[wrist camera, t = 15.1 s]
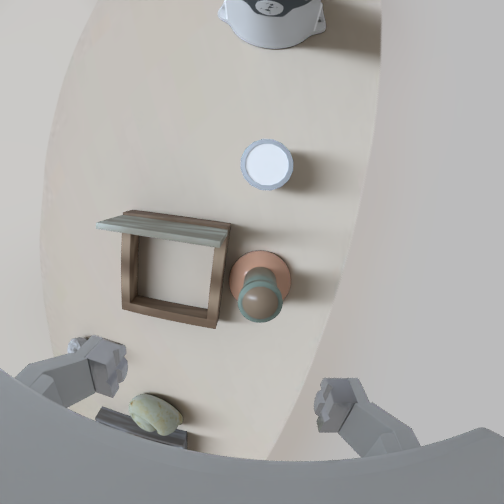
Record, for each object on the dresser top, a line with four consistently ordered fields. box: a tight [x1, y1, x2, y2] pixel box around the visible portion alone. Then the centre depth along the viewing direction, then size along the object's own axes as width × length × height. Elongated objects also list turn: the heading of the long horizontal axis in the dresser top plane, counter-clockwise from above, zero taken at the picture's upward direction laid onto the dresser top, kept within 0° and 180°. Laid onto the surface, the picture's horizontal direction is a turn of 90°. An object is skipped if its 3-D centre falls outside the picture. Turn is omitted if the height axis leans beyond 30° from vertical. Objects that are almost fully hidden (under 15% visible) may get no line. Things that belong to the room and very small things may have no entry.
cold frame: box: [96, 210, 231, 329], centre depth 39 cm, size 17×17×12 cm
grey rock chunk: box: [68, 337, 87, 354], centre depth 47 cm, size 6×7×7 cm
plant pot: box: [238, 267, 283, 323], centre depth 40 cm, size 6×6×8 cm
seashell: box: [129, 394, 183, 436], centre depth 50 cm, size 13×8×10 cm
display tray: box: [95, 407, 187, 449], centre depth 56 cm, size 24×24×5 cm
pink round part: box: [229, 250, 291, 301], centre depth 44 cm, size 10×10×1 cm
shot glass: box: [241, 139, 293, 190], centre depth 37 cm, size 7×7×7 cm
